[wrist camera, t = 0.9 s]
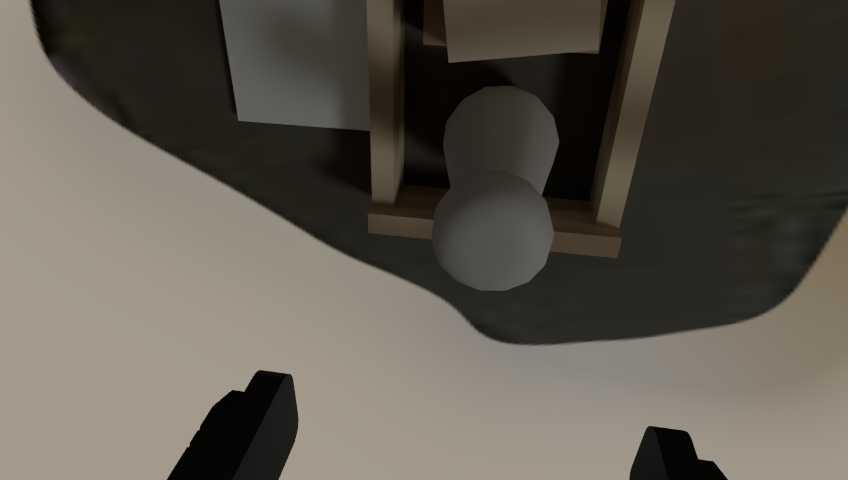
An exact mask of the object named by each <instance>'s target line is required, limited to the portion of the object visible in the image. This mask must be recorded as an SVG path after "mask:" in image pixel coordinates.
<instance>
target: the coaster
mask: <svg viewBox="0 0 848 480" xmlns="http://www.w3.org/2000/svg"><path fill="white" fill-rule="evenodd" d="M219 2H220V8H221V14H222V20H223V27H224V33H225V39H226V46H227V52H228V58H229V64H230V71H231V77H232V83H233V89H234V96H235V102H236V108H237V114H238V121H249V122H262V123H275V124H288V125H301V126H314V127H327V128H340V129H353V130H366V131H370V105H369V69H368V34H367V0H219Z"/></svg>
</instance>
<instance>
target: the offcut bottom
mask: <svg viewBox="0 0 848 480" xmlns="http://www.w3.org/2000/svg"><path fill="white" fill-rule="evenodd" d="M607 4H608V0H601V9H600V30H599V48H600V42H601V37H602V32H603V26H604V21H605V15H606V10H607ZM423 45H438V46H447V38H446V26H445V15H444V3H443V0H424V27H423ZM574 53H593V54H598V53H599V50H593V51H581V52H574Z"/></svg>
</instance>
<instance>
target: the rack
mask: <svg viewBox="0 0 848 480" xmlns="http://www.w3.org/2000/svg"><path fill="white" fill-rule="evenodd" d="M674 4H675V0H630V5H629V10H628V15H627V20H626V25H625V29H624V34H623V39H622V44H621V49H620V54H619V58H618V63H617V68H616V73H615V78H614V83H613V87H612V92H611V97H610V102H609V107H608V111H607V116H606V121H605V126H604V131H603V136H602V140H601V145H600V150H599V155H598V160H597V165H596V169H595V174H594V179H593V184H592V189H591V194H590V198H589V201H582V200H571V199H559V198H548V197H543V198H544V199H545V200H546V202H547V206H548V210H549V214H550V218H551V222H552V226H553V230H554V237H553V241H552V244H551V248H550V251H552V252H562V253H572V254H582V255H592V256H602V257H612V258H617V257H618V253H619V249H620V245H621V241H622V236H621V233H620V230H619V226H620V222H621V218H622V214H623V210H624V206H625V202H626V198H627V194H628V190H629V186H630V182H631V178H632V174H633V170H634V166H635V162H636V158H637V154H638V150H639V146H640V142H641V137H642V133H643V129H644V125H645V121H646V117H647V113H648V109H649V105H650V101H651V97H652V93H653V89H654V85H655V81H656V77H657V73H658V69H659V65H660V61H661V57H662V53H663V48H664V44H665V40H666V36H667V32H668V28H669V24H670V20H671V16H672V12H673V8H674ZM367 34H368V69H369V105H370V140H371V176H372V207H371V209H370V211H369V213H368V231H369V233H374V234H383V235H393V236H403V237H413V238H423V239H432V228H433V221H434V214H435V210H436V207H437V205H438V203H439V202H440V200H441V199H442V198H443V197H444V195H445V194H446V193H447V192H448V190H449V189H447V188H435V187H424V186H413V185H404V64H405V0H367Z"/></svg>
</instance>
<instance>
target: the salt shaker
mask: <svg viewBox="0 0 848 480" xmlns="http://www.w3.org/2000/svg"><path fill="white" fill-rule="evenodd" d="M558 145H559V138H558V134H557V129H556V125H555V121H554V117H553V116H552V114H551V113H550V112H549V111H548V109H547V108H546V107H545V106H544V105H543V103H542V102H541V101H540V100H539V99H538V97H537V96H536V95H534V94H531V93H529V92H527V91H524V90H522V89H520V88H517V87H515V86H512V85H508V86H490V87H484V88H483V89H481V90H479V91H477V92H475V93H473V94H472V95H470V96H468V97H466V98H464V99H463V100H462V101H461V102H460V104H459V105H458V106H457V108H456V109H455V111H454V112H453V113H452V115H451V116H450V118H449V119H448V120H447V122H446V128H445V135H444V141H443V150H444V155H445V160H446V166H447V171H448V176H449V182H450V187H451V188H450V189H449V190H448V192H447V193H446V194H445V195H444V197H443V198H442V199H441V200H440V202H439V203H438V205H437V207H436V210H435V214H434V221H433V228H432V244H433V247H434V250H435V253H436V256H437V259H438V261H439V264H440V265H441V266H442V267H443V268H444V269H445V270H446V271H447V272H448V273H449V274H450V275H451V276H452V277H453V278H454V279H455V280H456V281H458V282H460V283H463V284H465V285H468V286H470V287H473V288H475V289H478V290H502V291H505V290H508V289H511V288H513V287H516V286H519V285H521V284H524V283H527V282H529V281H530V280H531V279H532V278H533V277H534V276H535V275H536V274H537V273H538V272H539V271H540V270H541V269H542V268H543V266H544V265H545V263H546V260H547V257H548V254H549V251H550V248H551V244H552V241H553V237H554V230H553V226H552V222H551V218H550V214H549V210H548V206H547V202H546V200H545V199H544V198H543V197H542V193H543V190H544V187H545V184H546V181H547V178H548V175H549V173H550V170H551V168H552V165H553V162H554V158H555V155H556V152H557V148H558Z"/></svg>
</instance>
